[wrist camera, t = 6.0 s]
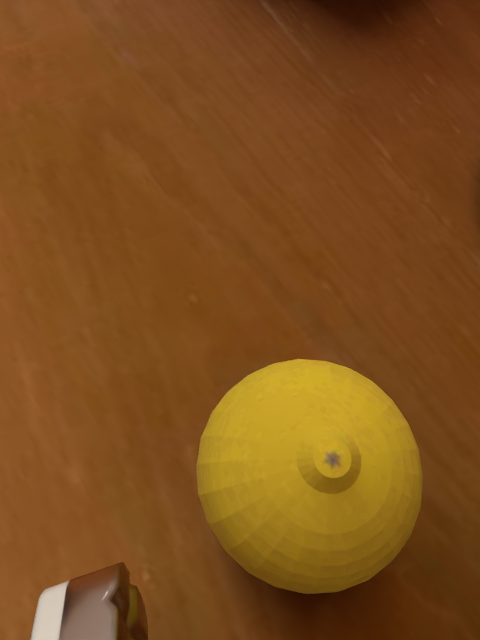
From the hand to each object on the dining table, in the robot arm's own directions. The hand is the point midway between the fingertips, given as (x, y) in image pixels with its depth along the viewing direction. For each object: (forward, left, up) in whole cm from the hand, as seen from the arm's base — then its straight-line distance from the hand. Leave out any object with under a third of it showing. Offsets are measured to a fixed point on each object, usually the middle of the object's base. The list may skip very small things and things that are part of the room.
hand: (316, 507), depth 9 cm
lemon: (+1, 0, -6) cm, 6 cm away
